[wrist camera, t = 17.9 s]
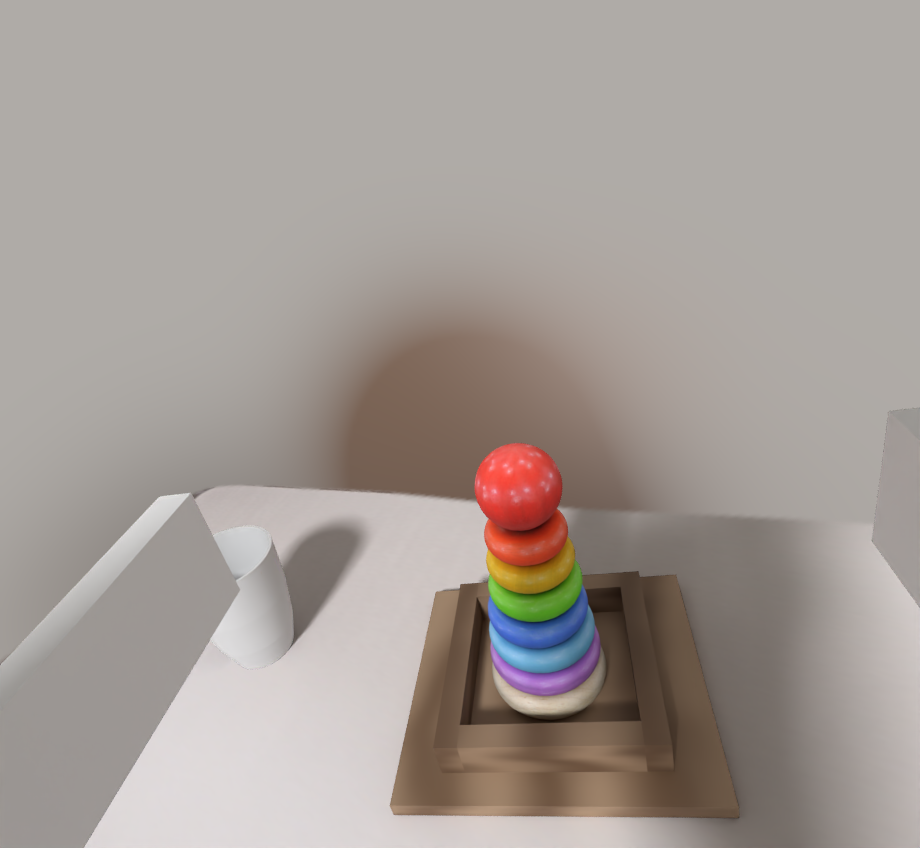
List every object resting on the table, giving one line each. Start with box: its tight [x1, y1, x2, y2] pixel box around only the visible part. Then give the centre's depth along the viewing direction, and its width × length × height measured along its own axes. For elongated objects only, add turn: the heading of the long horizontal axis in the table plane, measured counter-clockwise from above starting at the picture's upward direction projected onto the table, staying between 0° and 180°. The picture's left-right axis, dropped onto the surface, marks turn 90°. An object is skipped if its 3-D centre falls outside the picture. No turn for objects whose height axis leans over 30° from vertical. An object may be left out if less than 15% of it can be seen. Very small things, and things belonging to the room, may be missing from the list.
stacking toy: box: [475, 443, 606, 720], centre depth 38 cm, size 8×8×19 cm
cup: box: [210, 526, 294, 669], centre depth 50 cm, size 8×8×10 cm
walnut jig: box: [390, 571, 739, 818], centre depth 42 cm, size 20×18×4 cm
